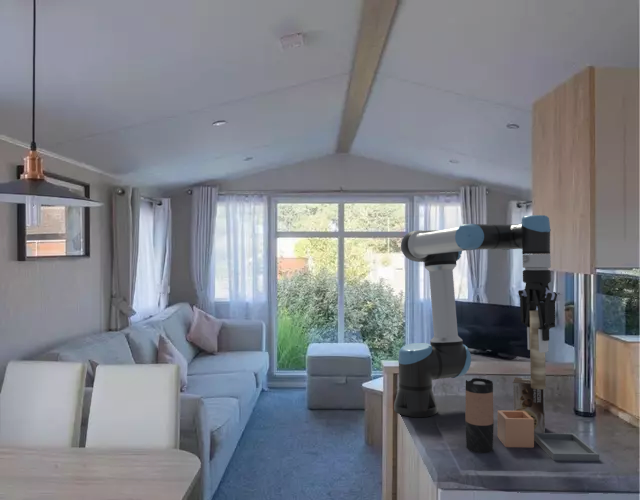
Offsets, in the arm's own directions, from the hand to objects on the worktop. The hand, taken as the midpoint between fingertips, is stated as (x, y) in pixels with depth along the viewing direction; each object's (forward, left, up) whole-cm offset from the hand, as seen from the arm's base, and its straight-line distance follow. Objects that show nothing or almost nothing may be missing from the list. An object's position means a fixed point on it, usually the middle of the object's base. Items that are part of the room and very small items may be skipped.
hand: (537, 350), depth 153 cm
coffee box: (-15, +2, -29) cm, 32 cm away
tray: (+2, +6, -28) cm, 29 cm away
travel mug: (+2, -17, -29) cm, 33 cm away
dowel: (0, 0, -11) cm, 11 cm away
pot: (-3, -6, -28) cm, 29 cm away
